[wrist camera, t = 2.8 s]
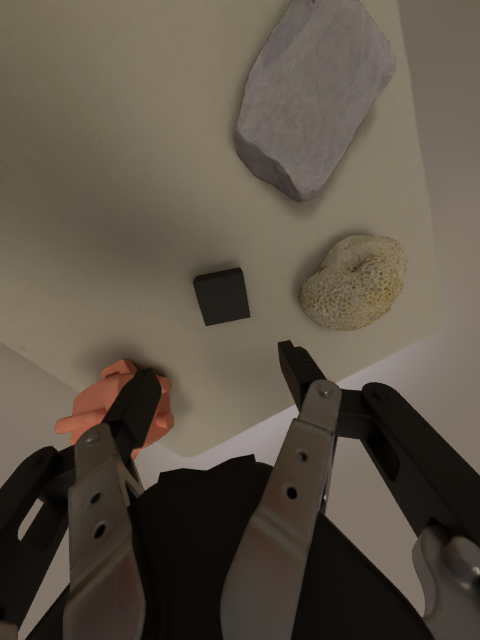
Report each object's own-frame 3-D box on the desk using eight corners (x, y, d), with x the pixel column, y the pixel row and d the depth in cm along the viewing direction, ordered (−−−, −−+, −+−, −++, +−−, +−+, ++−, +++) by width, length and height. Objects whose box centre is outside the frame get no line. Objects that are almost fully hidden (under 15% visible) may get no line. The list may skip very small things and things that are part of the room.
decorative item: (352, 353, 26) (321, 339, 19) (314, 310, 32) (279, 288, 25) (445, 286, 21) (445, 238, 15) (381, 250, 27) (359, 203, 20)
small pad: (207, 316, 26) (205, 326, 23) (195, 276, 24) (192, 282, 21) (247, 308, 26) (250, 317, 23) (240, 267, 24) (242, 272, 21)
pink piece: (164, 485, 21) (94, 500, 23) (189, 396, 32) (140, 411, 33) (88, 423, 16) (6, 448, 18) (148, 342, 27) (93, 362, 28)
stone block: (226, 161, 20) (304, 212, 21) (218, 133, 16) (318, 200, 17) (290, 17, 17) (380, 86, 18) (304, -73, 12) (424, 27, 13)
